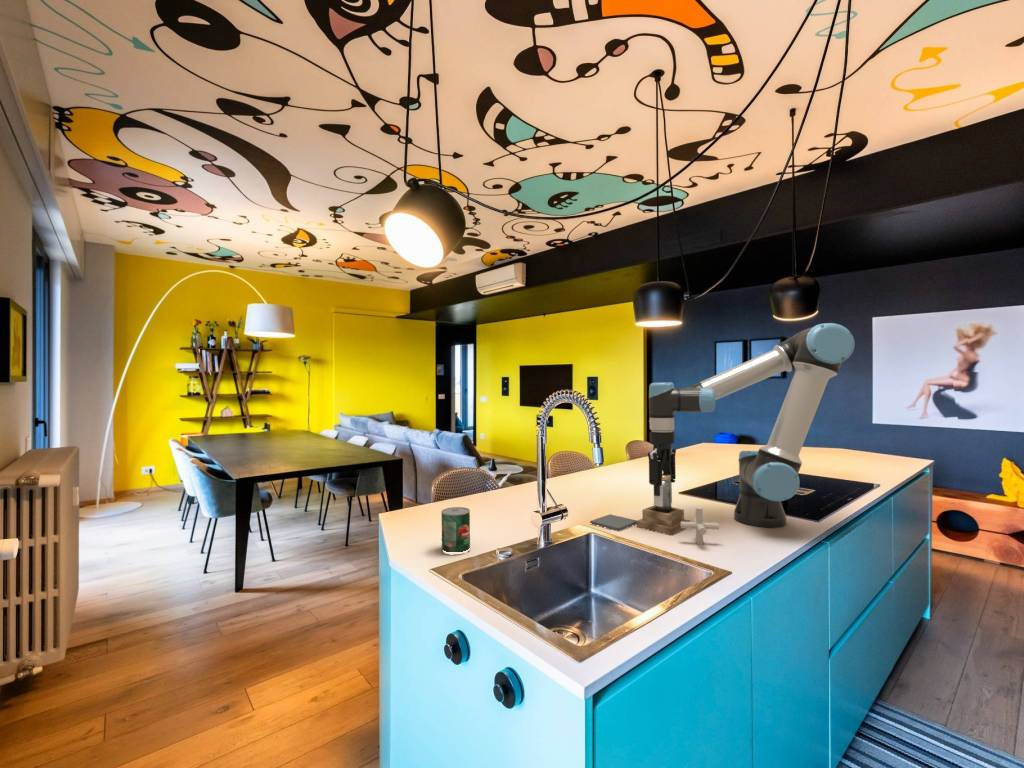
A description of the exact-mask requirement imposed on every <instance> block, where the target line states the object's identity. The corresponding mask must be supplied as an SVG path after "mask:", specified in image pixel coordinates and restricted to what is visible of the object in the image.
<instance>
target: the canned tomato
mask: <svg viewBox="0 0 1024 768" xmlns="http://www.w3.org/2000/svg"><path fill="white" fill-rule="evenodd" d="M470 511H471V510H470V509H469V508H468V507H464V506H463V507H462V506H453V507H447V508H444V509H442V510H441V511H440V512H441V550H442V549H443V550H444V551H446V552H463V551H466V550H468V549H469V548H470V549H471V517H470V516H471V515H470V513H471V512H470Z"/></svg>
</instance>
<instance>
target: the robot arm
mask: <svg viewBox="0 0 1024 768" xmlns="http://www.w3.org/2000/svg"><path fill="white" fill-rule="evenodd" d="M855 347H856V346H855V339H854V336H853V334H852V333H851V331H850V330H849V329H848V328H847V327H845V326H843V325H841V324H838V323H834V322H828V323H824V322H823V323H819V324H817V325H816V324H815V325H814V326H812V327H808V328H806V329H803V330H801V331H799V332H798V333H795V334H794V335H793V336H791V337H789V338H787V339H786V340H784V341H782V342H780V343H778V344H776V345H774V346H773V349H772V350H769V351H767V352H765V353H763V354H761V355H758V356H756V357H754V358H752V359H749V360H746V361H744V362H742V363H741V364H738V365H736V366H734V367H731V368H729V369H727V370H725V371H721V372H720V373H718V374H715V375H713V376H711V377H708V378H706V379H704V380H702V381H699V382H698V383H696V384H694V385H691V386H688V387H684V388H675V385H674V383H673V382H672V381H671V382H669V381H668V382H652V383H650V384H649V387H648V388H649V389H648V409H649V411H648V412H649V415H648V416H649V420H648V422H649V430H650V432H649V443H650V444H653V447H652V452H650V451H649V452H647V457H648V484H650V485H651V486H653V506H660V507H663V486H662V485H661V481H662V473H663V474H670V475H671V504H673V492H672V491H673V485H672V484H674V483H676V476H677V475H676V455H677V454H676V453H677V450H676V448H672V445H674V443H675V432H674V430H675V413H713V412H714V411H715V408H716V400H720V399H721V398H724V397H726V396H729V395H730V394H733V393H735V392H738V391H739V390H740V391H741V390H743V389H745V388H748V387H749V386H752V385H754V384H756V383H759V382H761V381H763V380H766V379H769V378H770V377H771V378H772V377H773V376H775V375H777V374H780V373H783V372H788V373H790V372H793V371H794V375H793V377H792V380H791V382H790V384H789V387H788V388H787V389H788V390H787V392H786V395H785V397H784V401H783V403H782V404H781V408H780V410H779V414H778V415H777V418H776V421H775V422H774V427H773V428H772V431H771V433H770V436H769V439H768V441H767V443H766V445H763V446H760V447H759V449H758V450H741V451H739V455H738V471H739V472H738V473H739V476H738V477H739V478H738V479H739V496H738V499H737V501H736V505H735V509H734V511H733V516H734V517H733V518H734V520H736V521H737V522H738V523H742V524H745V525H750V526H755V527H761V528H762V527H765V528H778V526H780V527H783V525H784V526H786V525H787V515H786V513H785V510H784V507H783V503H782V502H783V501H787V500H789V499H792V497H794V496H795V495H796V494H797V493H798V491H799V490H800V489H799V488H800V483H801V481H800V477H799V472H800V470H801V467H802V464H803V462H802V460H801V458H800V454H801V453H800V452H801V450H802V447H803V445H804V443H805V441H806V437H807V436H808V432H809V430H810V428H811V425H812V422H813V421H814V418H815V415H816V412H817V409H818V407H819V404H820V402H821V399H822V398H823V397H822V396H823V395H824V392H825V389H826V387H827V385H828V382H829V380H830V379H832V378H833V377H836V376H837V375H838V374H839V371H840V368H841V366H842V364H843V363H844V362H845V361H847V359H849V358H850V357H851V356H852V354H853V352H854V351H855V350H854V349H855ZM785 524H786V525H785Z"/></svg>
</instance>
